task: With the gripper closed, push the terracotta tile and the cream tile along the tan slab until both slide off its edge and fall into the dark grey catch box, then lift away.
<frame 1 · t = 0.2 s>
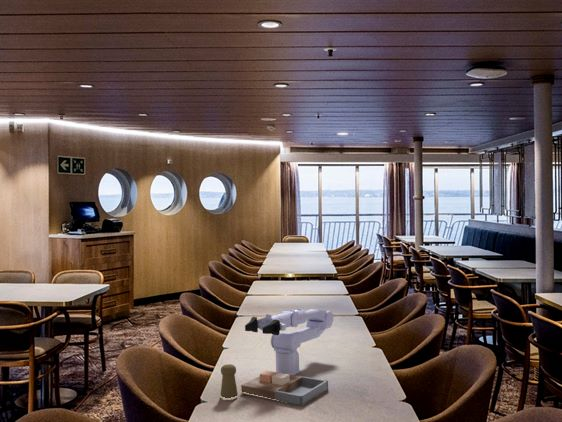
hand: (254, 329, 197), 21 cm above the table, tool horizontal, fingers open, 7 cm apart
cream tile: (280, 382, 194), point 3 cm above the table, touching tan slab
catch box: (302, 395, 189), on the table
tan slab: (272, 389, 196), on the table
cork: (229, 397, 189), on the table
terracotta tile: (268, 380, 197), point 3 cm above the table, touching tan slab
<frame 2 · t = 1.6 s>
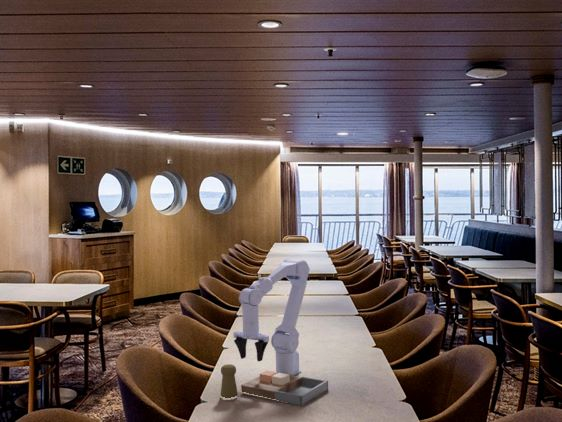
hand: (251, 359, 201), 9 cm above the table, tool pointing down, fingers open, 7 cm apart
nothing on the table moved.
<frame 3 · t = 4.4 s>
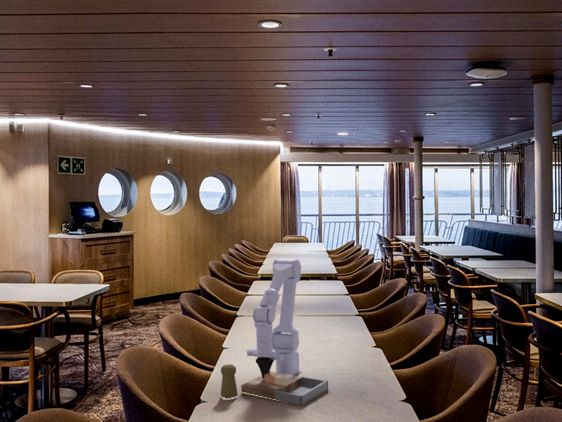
hand: (265, 378, 198), 4 cm above the table, tool pointing down, fingers closed
cream tile: (284, 383, 193), point 3 cm above the table, touching terracotta tile
terracotta tile: (273, 381, 196), point 3 cm above the table, touching cream tile, gripper, tan slab
everything else where it was.
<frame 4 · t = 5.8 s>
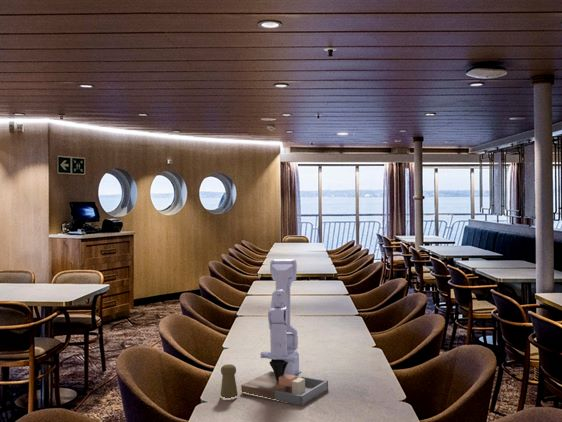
hand: (279, 380, 194), 4 cm above the table, tool pointing down, fingers closed
cream tile: (295, 386, 191), point 3 cm above the table, tilted 90°, touching catch box
terracotta tile: (287, 383, 192), point 3 cm above the table, touching gripper
everything else where it was.
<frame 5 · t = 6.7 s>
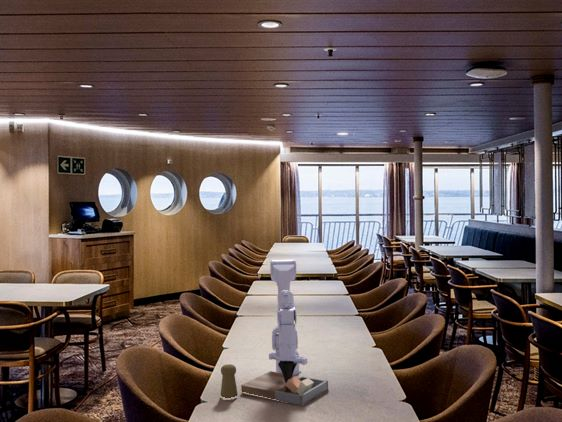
hand: (288, 382, 192), 4 cm above the table, tool pointing down, fingers closed
cream tile: (302, 384, 189), point 4 cm above the table, tilted 118°, touching catch box, terracotta tile
terracotta tile: (293, 388, 191), point 2 cm above the table, tilted 28°, touching cream tile, gripper
everything else where it was.
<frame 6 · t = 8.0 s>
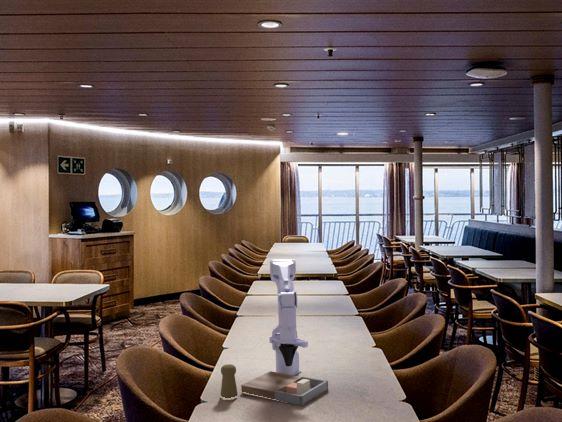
hand: (288, 365, 192), 9 cm above the table, tool pointing down, fingers closed
cream tile: (300, 387, 189), point 3 cm above the table, tilted 90°, touching catch box
terracotta tile: (294, 392, 191), resting on catch box
everything else where it was.
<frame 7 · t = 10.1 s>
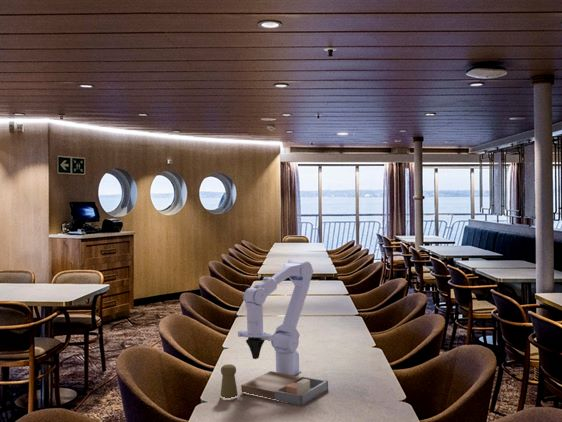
hand: (255, 358, 202), 9 cm above the table, tool pointing down, fingers closed
nothing on the table moved.
at the end: terracotta tile inside the target area on the catch box (3.0 cm from its centre), point 0.5 cm above the catch box's base; cream tile inside the target area on the catch box (0.7 cm from its centre), point 2.7 cm above the catch box's base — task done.
